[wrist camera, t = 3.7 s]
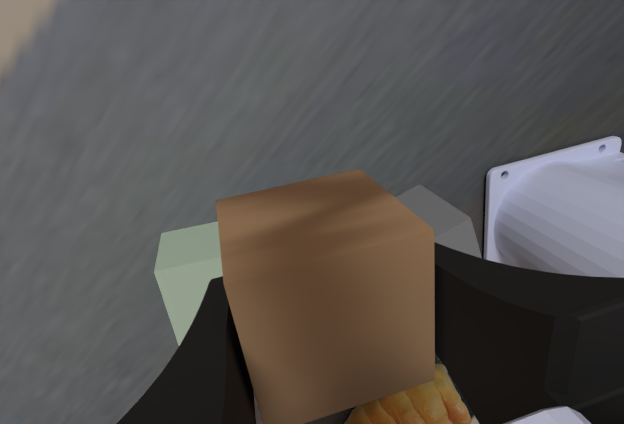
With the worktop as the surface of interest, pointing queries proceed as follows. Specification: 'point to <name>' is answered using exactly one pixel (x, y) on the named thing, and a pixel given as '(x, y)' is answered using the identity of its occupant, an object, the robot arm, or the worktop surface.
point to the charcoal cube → (442, 220)
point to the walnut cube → (328, 294)
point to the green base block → (187, 271)
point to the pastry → (416, 405)
